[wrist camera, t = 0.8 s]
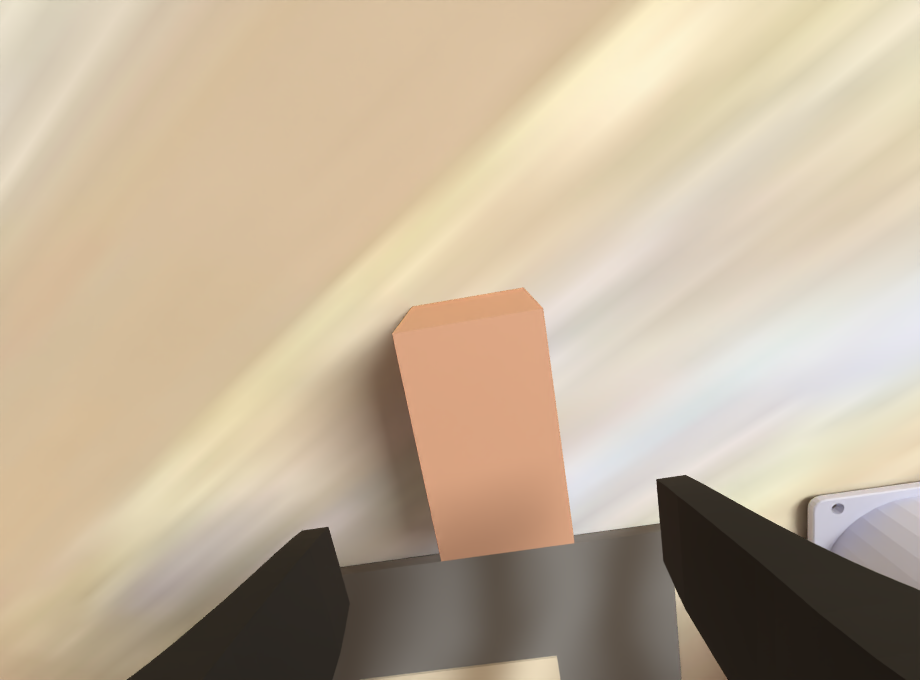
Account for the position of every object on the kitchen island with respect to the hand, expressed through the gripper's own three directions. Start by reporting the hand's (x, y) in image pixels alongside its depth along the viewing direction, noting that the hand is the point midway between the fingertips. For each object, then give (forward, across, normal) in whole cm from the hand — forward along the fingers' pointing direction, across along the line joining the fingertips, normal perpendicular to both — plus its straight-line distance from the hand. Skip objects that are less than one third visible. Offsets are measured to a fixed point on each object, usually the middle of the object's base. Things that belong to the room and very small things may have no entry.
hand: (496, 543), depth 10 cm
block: (+10, 0, 0) cm, 10 cm away
